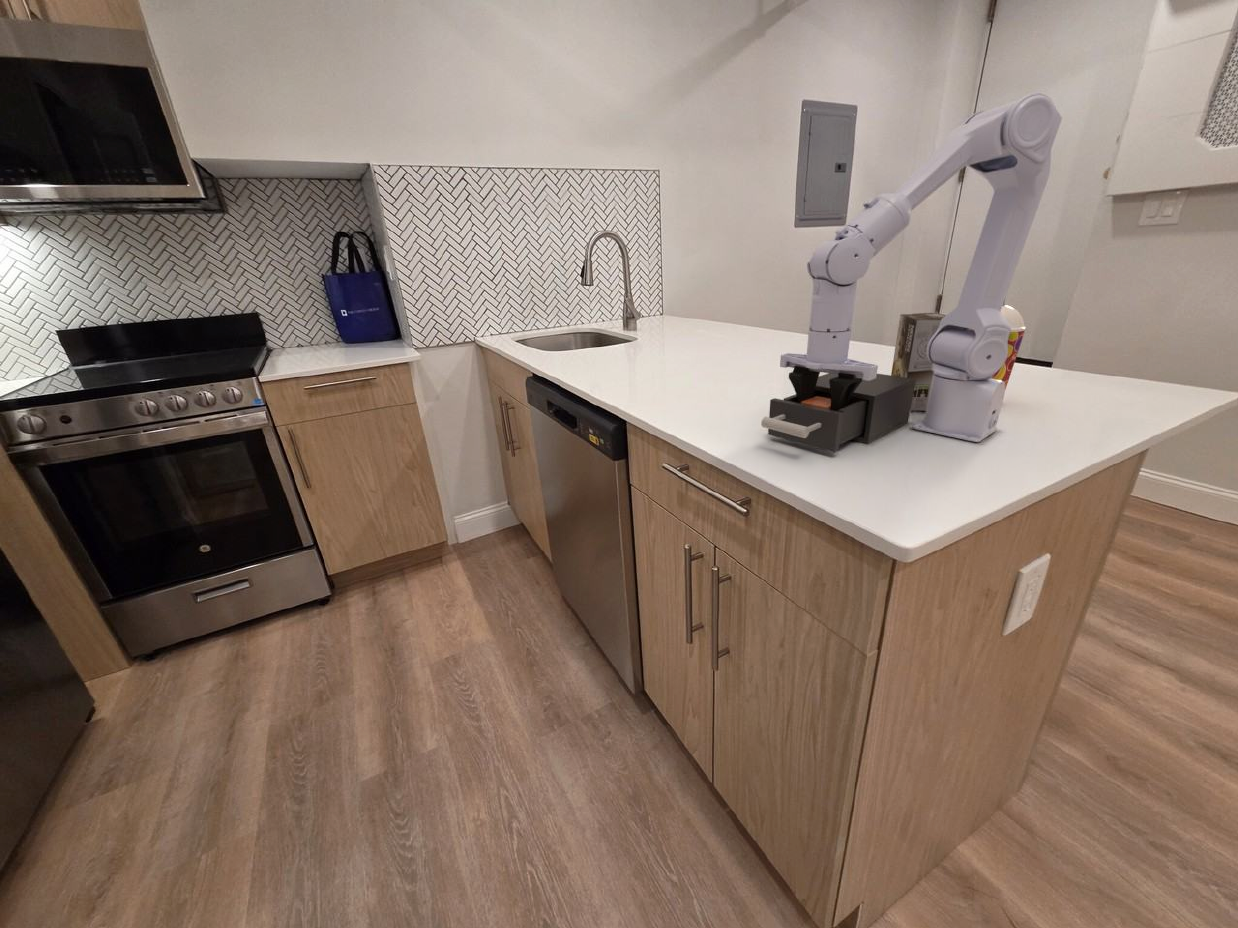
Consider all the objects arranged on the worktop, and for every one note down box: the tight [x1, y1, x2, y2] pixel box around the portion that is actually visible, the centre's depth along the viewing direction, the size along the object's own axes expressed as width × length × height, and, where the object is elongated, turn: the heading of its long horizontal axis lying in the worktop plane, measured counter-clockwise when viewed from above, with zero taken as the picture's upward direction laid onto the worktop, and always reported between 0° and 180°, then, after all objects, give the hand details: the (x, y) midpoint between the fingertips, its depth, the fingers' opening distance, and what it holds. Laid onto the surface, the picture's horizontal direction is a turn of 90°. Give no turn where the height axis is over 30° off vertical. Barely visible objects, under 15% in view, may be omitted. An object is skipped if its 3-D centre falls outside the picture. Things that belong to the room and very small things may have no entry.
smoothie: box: [968, 299, 1027, 391], centre depth 89 cm, size 8×8×20 cm
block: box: [801, 396, 831, 410], centre depth 78 cm, size 4×4×4 cm
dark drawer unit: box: [815, 373, 916, 445], centre depth 84 cm, size 14×13×8 cm
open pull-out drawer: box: [760, 390, 869, 453], centre depth 77 cm, size 18×11×6 cm, turn 129°
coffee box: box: [890, 312, 947, 412], centre depth 91 cm, size 9×6×16 cm
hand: (819, 418), depth 78 cm, fingers closed on block, 4 cm apart
